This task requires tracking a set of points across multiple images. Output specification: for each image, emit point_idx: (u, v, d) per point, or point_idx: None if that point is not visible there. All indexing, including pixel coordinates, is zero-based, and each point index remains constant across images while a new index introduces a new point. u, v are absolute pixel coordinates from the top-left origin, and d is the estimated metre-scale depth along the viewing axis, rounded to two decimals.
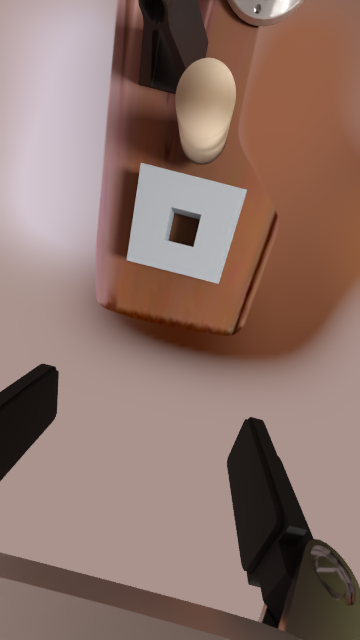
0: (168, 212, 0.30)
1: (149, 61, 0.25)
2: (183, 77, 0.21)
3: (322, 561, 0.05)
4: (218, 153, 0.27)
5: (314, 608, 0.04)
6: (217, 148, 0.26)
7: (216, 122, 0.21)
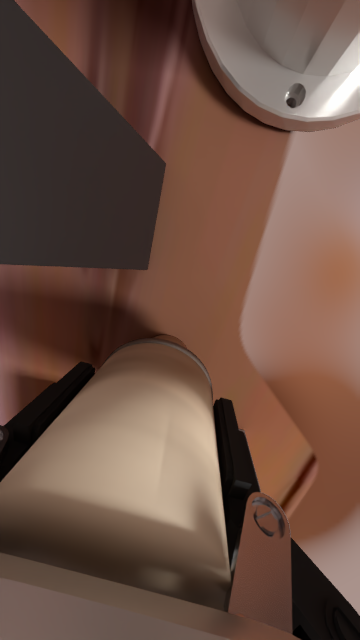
0: None
1: None
2: None
3: (260, 509, 0.06)
4: None
5: (255, 553, 0.05)
6: None
7: None
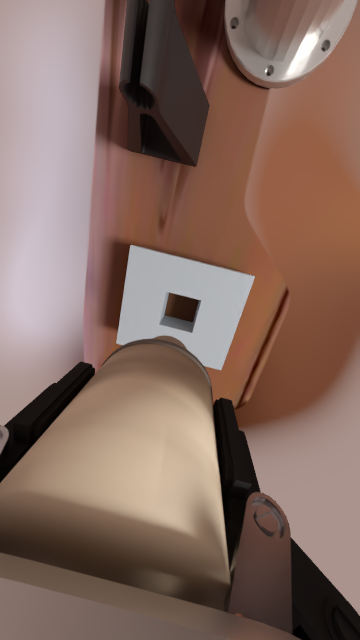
0: (163, 297, 0.26)
1: (138, 135, 0.21)
2: None
3: (260, 509, 0.06)
4: None
5: (255, 553, 0.05)
6: None
7: None
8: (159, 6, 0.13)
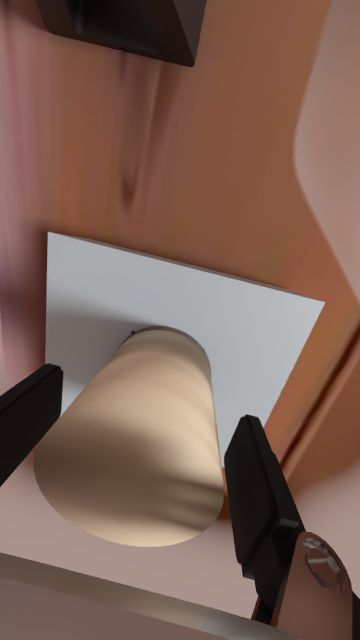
0: None
1: None
2: (49, 441, 0.06)
3: (313, 552, 0.05)
4: None
5: (306, 599, 0.04)
6: None
7: (166, 531, 0.07)
8: None
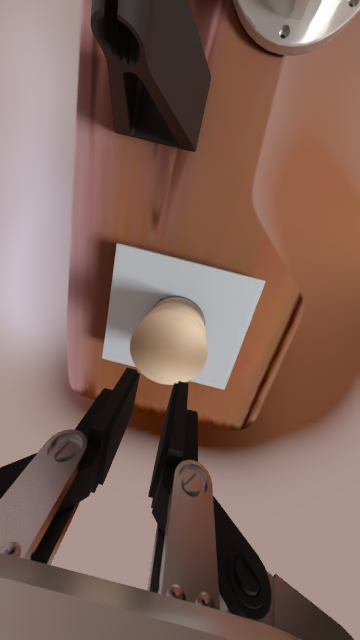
0: None
1: (124, 109, 0.17)
2: (138, 329, 0.16)
3: (186, 475, 0.06)
4: None
5: (184, 519, 0.05)
6: None
7: (184, 374, 0.17)
8: None
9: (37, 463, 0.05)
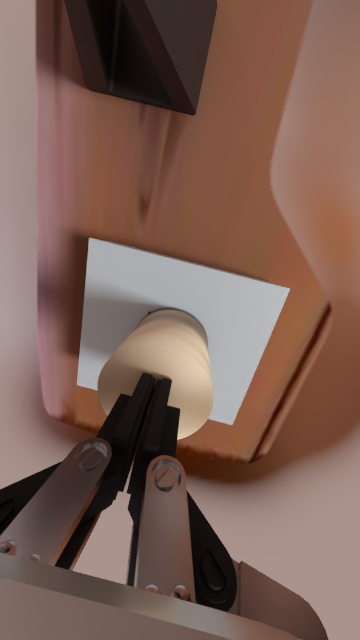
0: None
1: (92, 41, 0.12)
2: (109, 365, 0.10)
3: (159, 471, 0.06)
4: None
5: (157, 516, 0.05)
6: None
7: (178, 428, 0.11)
8: None
9: (65, 473, 0.05)
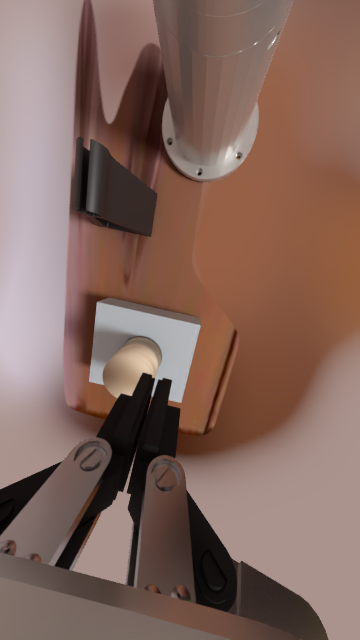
0: None
1: (99, 222, 0.27)
2: (107, 365, 0.24)
3: (159, 471, 0.06)
4: None
5: (157, 516, 0.05)
6: None
7: None
8: (96, 165, 0.19)
9: (65, 473, 0.05)
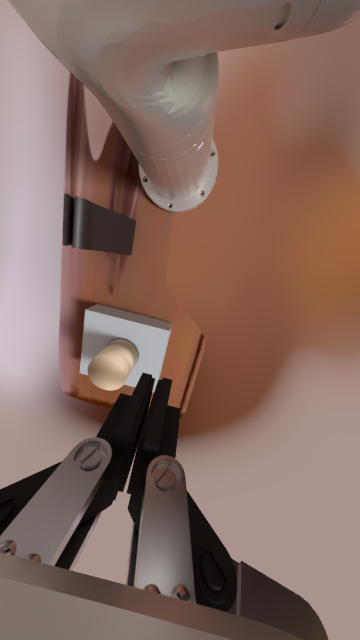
0: None
1: None
2: (91, 362, 0.31)
3: (159, 471, 0.06)
4: None
5: (158, 516, 0.05)
6: None
7: (116, 384, 0.32)
8: (80, 214, 0.25)
9: (65, 473, 0.05)
